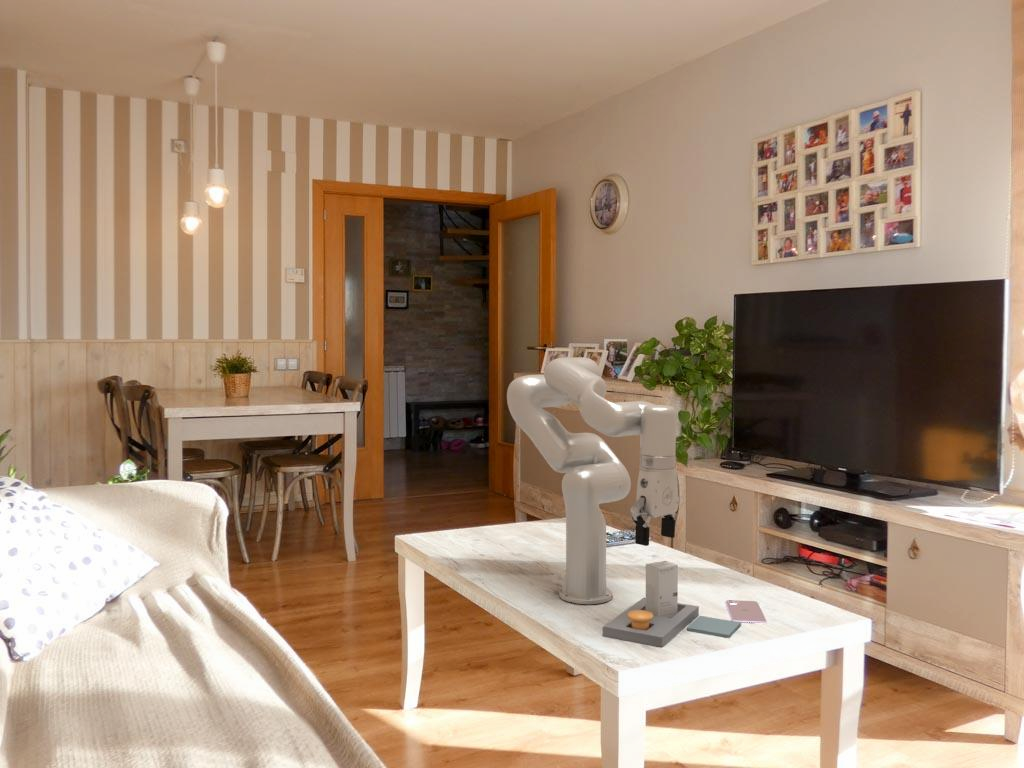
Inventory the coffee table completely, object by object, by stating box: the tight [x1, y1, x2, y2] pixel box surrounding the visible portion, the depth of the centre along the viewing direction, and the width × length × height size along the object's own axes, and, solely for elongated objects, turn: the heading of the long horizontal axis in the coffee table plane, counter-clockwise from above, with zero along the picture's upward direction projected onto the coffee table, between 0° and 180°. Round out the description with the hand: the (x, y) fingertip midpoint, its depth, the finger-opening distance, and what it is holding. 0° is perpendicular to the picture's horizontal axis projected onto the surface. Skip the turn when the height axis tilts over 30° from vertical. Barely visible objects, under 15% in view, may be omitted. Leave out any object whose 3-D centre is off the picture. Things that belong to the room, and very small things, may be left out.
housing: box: [602, 597, 700, 648], centre depth 183 cm, size 13×23×2 cm, turn 150°
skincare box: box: [645, 560, 679, 618], centre depth 188 cm, size 6×4×12 cm
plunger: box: [628, 610, 653, 631], centre depth 177 cm, size 5×5×4 cm
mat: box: [686, 615, 742, 639], centre depth 182 cm, size 9×9×1 cm
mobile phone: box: [724, 599, 768, 624], centre depth 192 cm, size 8×1×15 cm
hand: (655, 540), depth 185 cm, fingers open, 9 cm apart
